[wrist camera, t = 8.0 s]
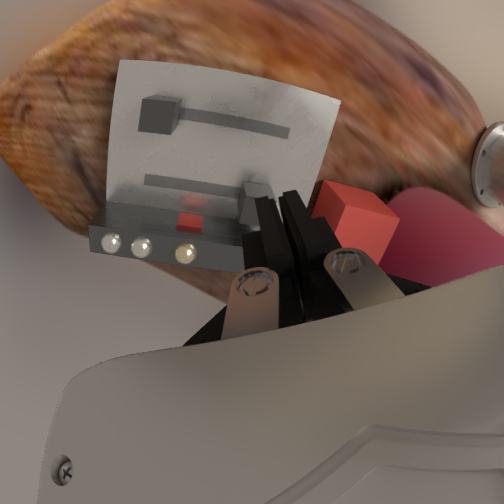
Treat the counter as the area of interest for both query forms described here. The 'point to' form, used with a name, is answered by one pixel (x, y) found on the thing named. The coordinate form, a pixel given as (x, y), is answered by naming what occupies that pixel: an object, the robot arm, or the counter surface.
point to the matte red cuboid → (356, 218)
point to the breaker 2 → (251, 202)
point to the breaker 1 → (159, 114)
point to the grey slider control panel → (203, 161)
